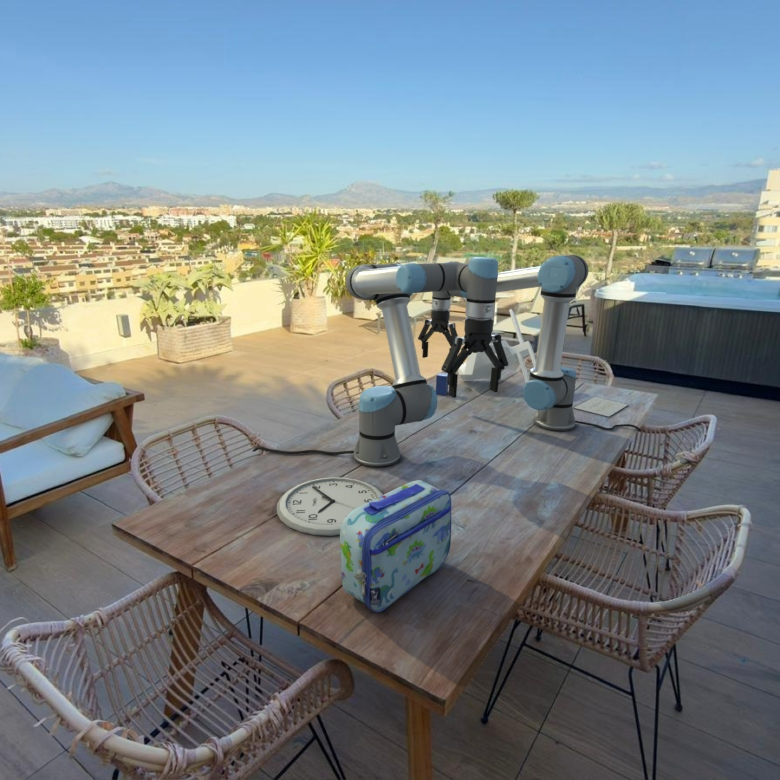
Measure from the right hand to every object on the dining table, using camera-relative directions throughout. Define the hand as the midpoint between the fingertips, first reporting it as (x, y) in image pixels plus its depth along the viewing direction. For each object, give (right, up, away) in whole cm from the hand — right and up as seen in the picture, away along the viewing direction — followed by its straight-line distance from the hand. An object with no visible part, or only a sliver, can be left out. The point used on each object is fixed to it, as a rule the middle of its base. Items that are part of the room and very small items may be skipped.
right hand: (437, 360), depth 218 cm
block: (+4, -14, +23) cm, 27 cm away
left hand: (+3, -13, -73) cm, 74 cm away
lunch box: (-18, -54, -106) cm, 120 cm away
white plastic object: (+31, -11, +33) cm, 47 cm away
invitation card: (+72, -20, +8) cm, 75 cm away
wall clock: (-36, -44, -75) cm, 94 cm away
